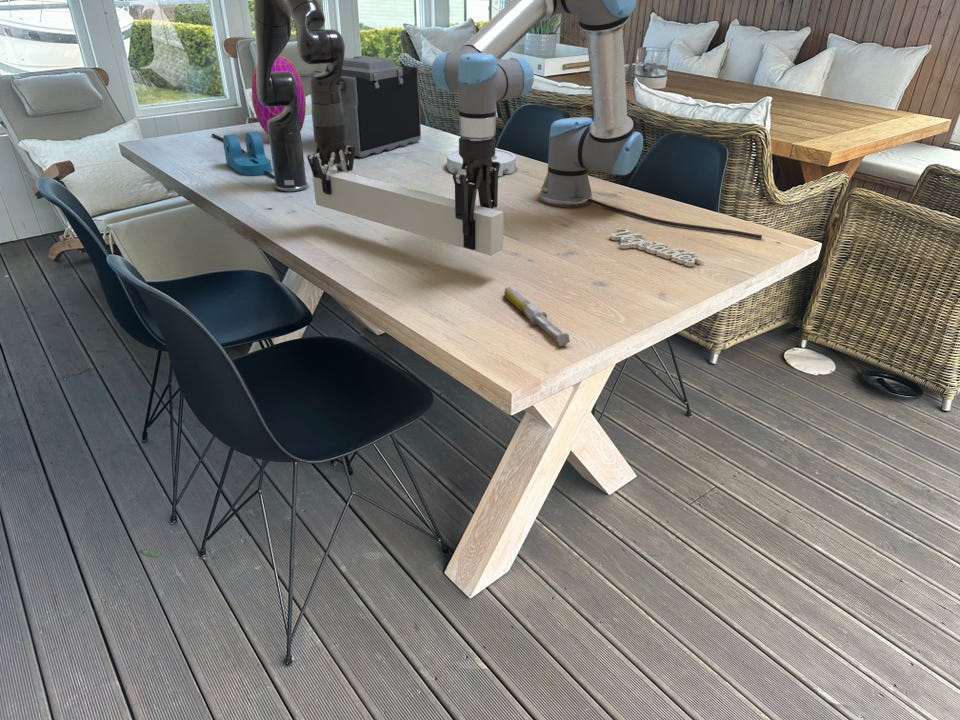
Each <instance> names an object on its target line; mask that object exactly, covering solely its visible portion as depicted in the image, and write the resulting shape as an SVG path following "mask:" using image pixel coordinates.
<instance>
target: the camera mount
mask: <svg viewBox="0 0 960 720" xmlns="http://www.w3.org/2000/svg"><path fill="white" fill-rule="evenodd" d="M222 138H223V141H222V143H223V149H224V150H223V151H224V156H225V161H226V165H227V166H228V167H230V168H231V169H232V170H234V171H236V172H237V173H238V174H239V175H244V176H260V175H266V174H265V173H264V172H265V170H266V171H268V172H269V173H271V172H272V164H271V159H270V158H268V157H267V156H266V153H265V145H264V141H263V139H262V136H261V134H260V132H258V131H247V132H246V133H245V146H246V152H247V153H242V150H241V149H242V146H241V142H240V140H239V138H238V135H236V134H235V133H231V134H224V135H223V137H222Z"/></svg>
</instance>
